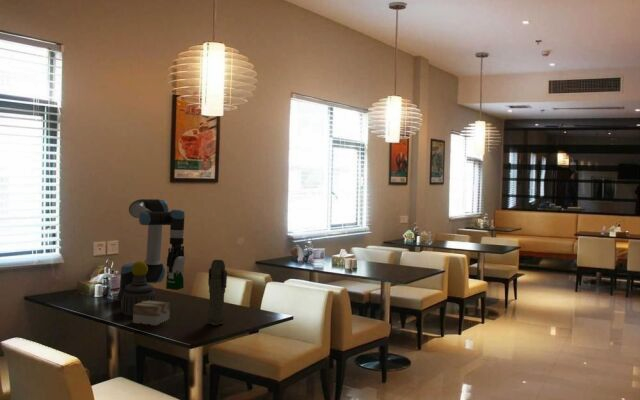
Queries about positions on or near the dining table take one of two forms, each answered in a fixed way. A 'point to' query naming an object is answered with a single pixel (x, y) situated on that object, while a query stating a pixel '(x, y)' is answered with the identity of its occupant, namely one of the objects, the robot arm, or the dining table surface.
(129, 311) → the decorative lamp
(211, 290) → the dark figurine statue
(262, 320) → the dining table surface
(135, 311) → the tower top
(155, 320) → the tower base
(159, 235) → the robot arm
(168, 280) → the soya milk
